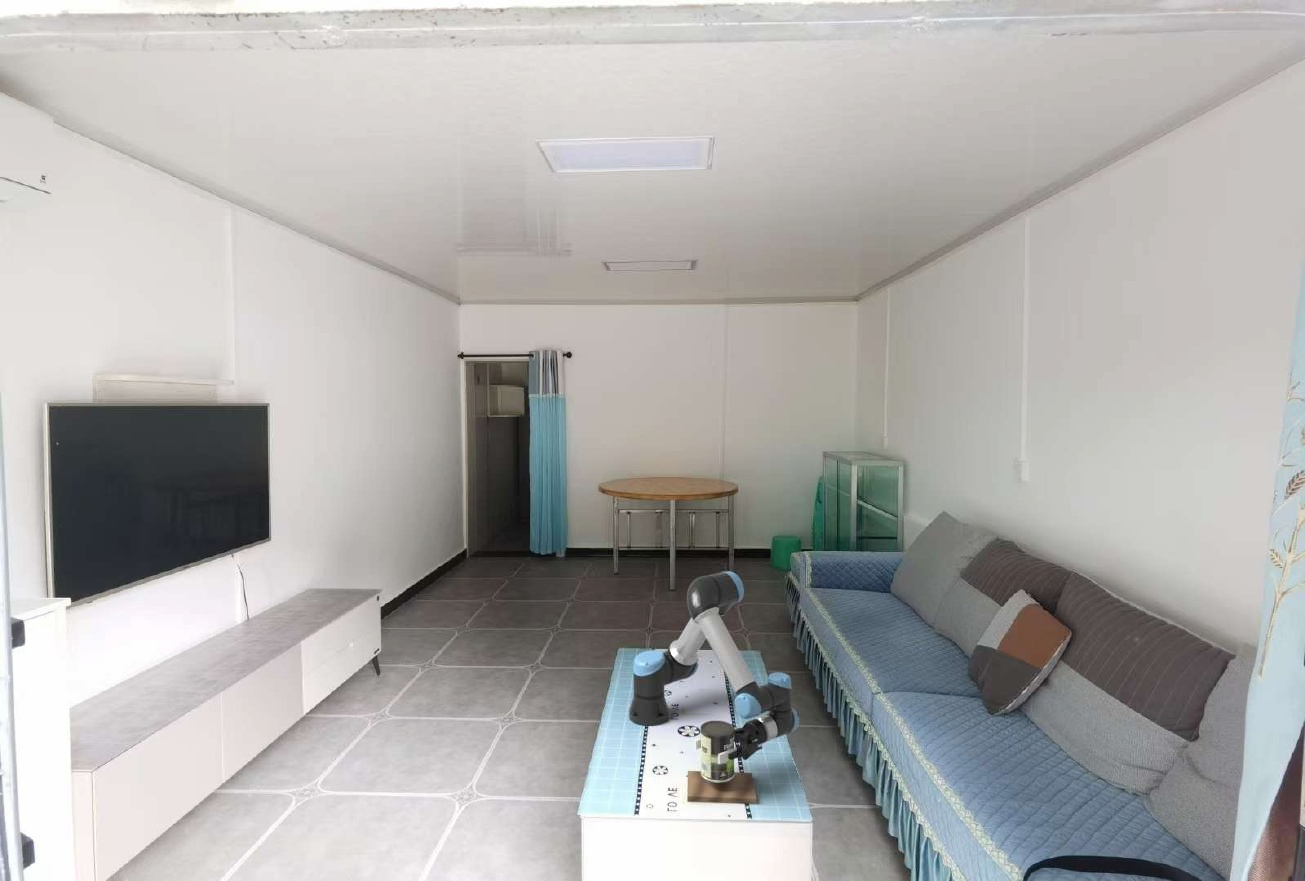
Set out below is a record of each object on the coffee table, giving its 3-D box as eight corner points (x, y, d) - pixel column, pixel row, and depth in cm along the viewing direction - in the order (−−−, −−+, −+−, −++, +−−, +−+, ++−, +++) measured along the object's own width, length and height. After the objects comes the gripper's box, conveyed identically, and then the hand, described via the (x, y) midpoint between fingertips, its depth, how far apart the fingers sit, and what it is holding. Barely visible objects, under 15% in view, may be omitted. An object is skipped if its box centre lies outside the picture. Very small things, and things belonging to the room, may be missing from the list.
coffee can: (740, 770, 199) (740, 725, 198) (725, 786, 190) (725, 739, 190) (710, 761, 204) (709, 717, 204) (694, 776, 195) (694, 730, 195)
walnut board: (687, 801, 190) (687, 796, 190) (687, 775, 204) (687, 770, 204) (756, 803, 189) (756, 798, 189) (752, 777, 203) (752, 772, 203)
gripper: (786, 756, 199) (733, 780, 185) (735, 729, 217) (683, 749, 204) (786, 732, 198) (733, 754, 185) (734, 707, 217) (683, 725, 203)
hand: (706, 751), depth 194 cm, fingers closed on coffee can, 10 cm apart
